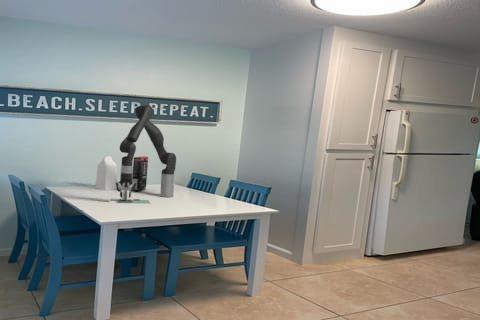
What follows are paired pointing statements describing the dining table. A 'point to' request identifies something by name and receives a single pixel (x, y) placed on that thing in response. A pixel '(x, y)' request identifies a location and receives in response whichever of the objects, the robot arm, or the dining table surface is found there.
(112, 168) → the milk
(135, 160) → the graphics card box
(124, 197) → the plug
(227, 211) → the dining table surface
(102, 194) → the dining table surface
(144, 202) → the board
